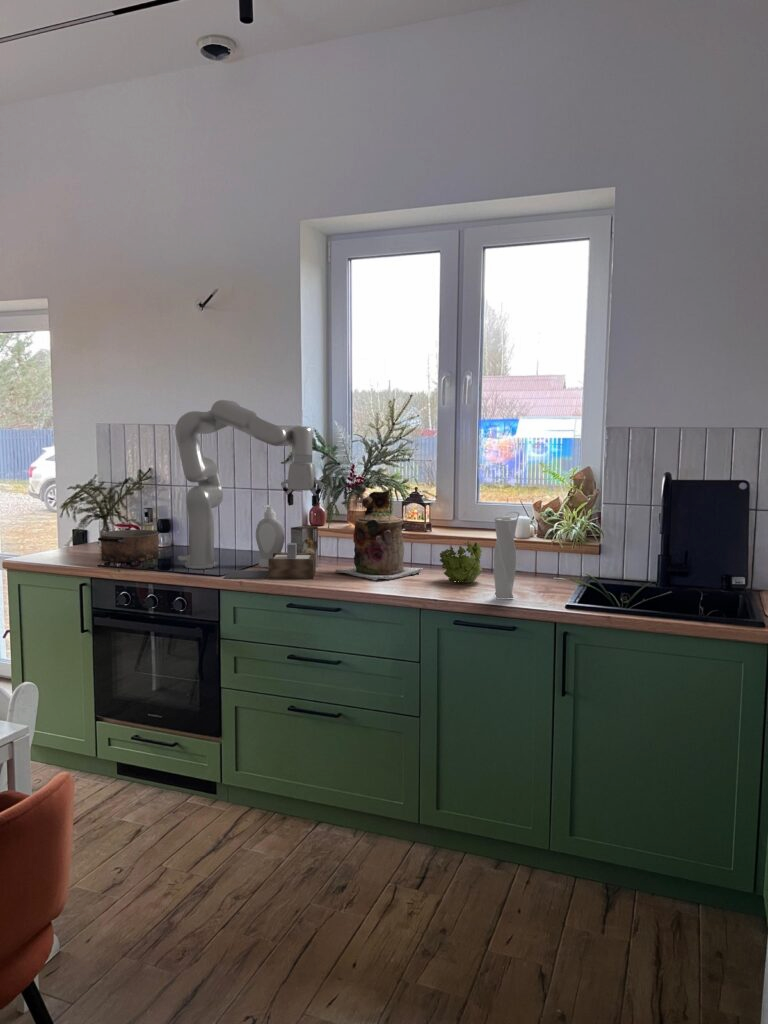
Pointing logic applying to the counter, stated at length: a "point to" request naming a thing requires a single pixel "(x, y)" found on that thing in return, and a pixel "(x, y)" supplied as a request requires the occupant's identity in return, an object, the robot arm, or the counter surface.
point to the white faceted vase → (505, 556)
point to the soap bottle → (269, 536)
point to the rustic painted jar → (378, 541)
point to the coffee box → (305, 539)
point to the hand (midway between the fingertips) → (302, 505)
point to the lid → (292, 553)
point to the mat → (247, 574)
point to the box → (292, 567)
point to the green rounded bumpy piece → (462, 563)
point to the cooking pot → (129, 545)
